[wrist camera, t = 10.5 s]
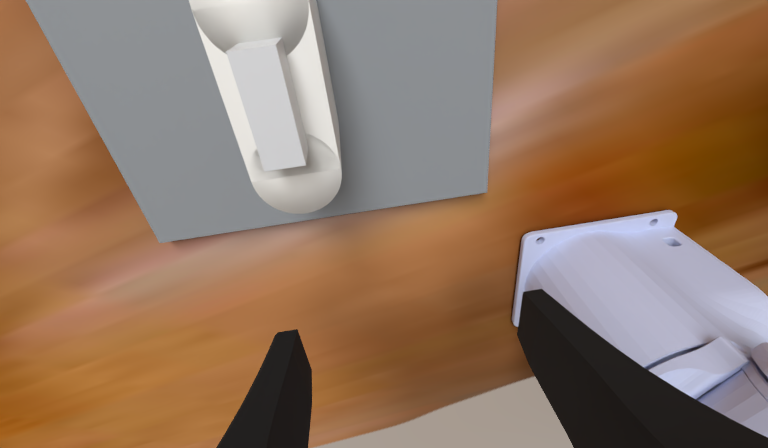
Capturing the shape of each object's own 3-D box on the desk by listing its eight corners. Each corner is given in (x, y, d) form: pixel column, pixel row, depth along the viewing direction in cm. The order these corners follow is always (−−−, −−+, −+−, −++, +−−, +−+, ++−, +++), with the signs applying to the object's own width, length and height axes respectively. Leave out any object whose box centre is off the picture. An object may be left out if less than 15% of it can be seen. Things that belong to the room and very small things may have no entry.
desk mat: (499, -228, 12) (510, -241, 11) (481, 185, 20) (487, 192, 20) (-49, -169, 11) (-73, -177, 11) (165, 234, 20) (159, 242, 19)
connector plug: (305, -61, 13) (287, -89, 8) (344, 152, 17) (350, 228, 12) (219, -50, 13) (141, -70, 8) (280, 162, 17) (258, 243, 12)
